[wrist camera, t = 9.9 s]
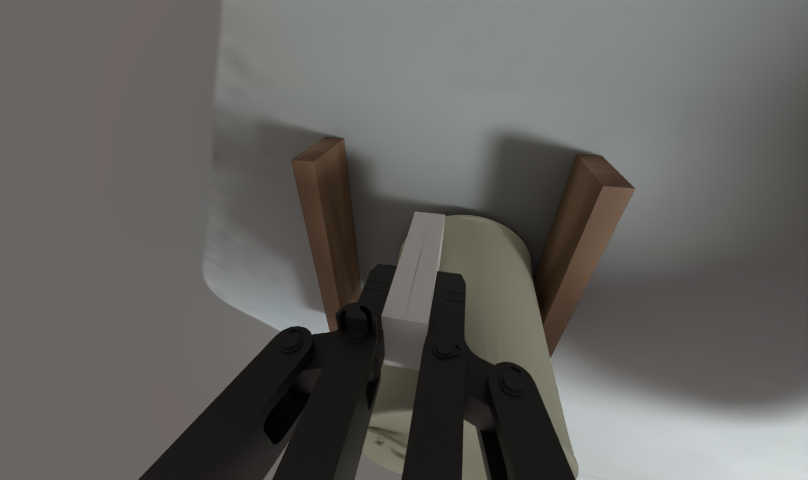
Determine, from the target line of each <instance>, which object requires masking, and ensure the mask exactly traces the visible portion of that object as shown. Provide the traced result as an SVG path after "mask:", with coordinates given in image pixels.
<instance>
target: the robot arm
mask: <svg viewBox="0 0 808 480" xmlns="http://www.w3.org/2000/svg"><path fill="white" fill-rule="evenodd" d="M444 221H445V214H435V213H425V212H415V213H414V217H413V220H412V223H411V226H410V229H409V232H408V235H407V238H406V241H405V244H404V247H403V251H402V254H401V257H400V260H399V263H398V266H391V265H383V264H378V265H377V266H376V267H375V268H374V269H373V270H371V272H370V274H369V276H368V279H367V282H366V283H365V286H364V289H363V290H362V293H361V295H360V297H359V300H358V302H353V303H350V304H346V305H345V306H343V307H342V308H340V309H339V310H338V312H337V313H336V314H335V316H336V321H337V326H338V330H335V331H332V332H328V333H320V334H311V332H310V331H309V330H308V329H306V328H305V327H300V326H296V327H290V328H287V329H285V330H283V331H281V332H280V333H279V334H278V335H276V336H275V337H274V338H273V339H272V340H271V341H270V342H269V343H268V345H267V346H266V347H265V348H264V349H263V350H262V351H261V352H260V353H259V354H258V355H257V356H256V357H255V358H254V359H253V360H252V361H251V362H250V363H249V364H248V366H247V367H246V368H245V369H244V370H243V371H242V372H241V373H240V374H239V375H238V376H237V377H236V378H235V379H234V380H233V381H232V382H231V383H230V384H229V385H228V386H227V388H225V390H224V391H223V392H222V393H221V394H220V395H219V396H218V397H217V398H216V399H215V400H214V401H213V402H212V403H211V404H210V405H209V406H208V407H207V408H206V409H205V411H204V412H203V413H202V414H201V415H200V416H199V417H198V418H197V419H196V420H195V421H194V422H193V423H192V424H191V425H190V426H189V427H188V428H187V429H186V430H185V431H184V433H182V435H181V436H180V437H179V438H178V439H177V440H176V441H175V442H174V443H173V444H172V445H171V446H170V447H169V448H168V449H167V450H166V451H165V452H164V453H163V454H162V455H161V457H160V458H159V459H158V460H157V461H156V462H155V463H154V464H153V465H152V466H151V467H150V468H149V469H148V470H147V471H146V472H145V473H144V474H143V475H142V476H141V477H140V479H139V480H263V479H264V478H265V476H266V475H267V473H268V472H269V470H270V469H271V467H272V466H273V464H274V463H275V461H276V460H277V458H278V457H279V455H280V454H281V453H282V451H283V450H284V448H285V447H286V445H287V444H288V442H289V444H288V446H287V448H286V450H285V453H284V455H283V457H282V459H281V461H280V464H279V466H278V468H277V470H276V473H275V475H274V477H273V480H355V476H356V472H357V468H358V464H359V460H360V456H361V453H362V449H363V445H364V442H365V438H366V434H367V430H368V427H369V423H370V419H371V415H372V411H373V408H374V404H375V400H376V396H377V392H378V389H379V385H380V381H381V367H382V364H383V360H384V365H390V366H395V367H400V368H406V369H411V370H416V371H419V375H418V382H417V388H416V394H415V400H414V406H413V412H412V418H411V425H410V431H409V437H408V443H407V449H406V455H405V461H404V468H403V474H402V480H462V462H463V427H464V420H465V421H467V422H469V423H470V424H472V425H474V426H475V427H476V431H477V435H478V440H479V444H480V449H481V453H482V458H483V462H484V467H485V472H486V476H487V480H575V477H574V475H573V472H572V470H571V468H570V465H569V463H568V460H567V458H566V456H565V453H564V451H563V448H562V446H561V444H560V441H559V439H558V436H557V434H556V431H555V429H554V427H553V424H552V422H551V419H550V417H549V415H548V412H547V410H546V407H545V405H544V403H543V400H542V398H541V395H540V393H539V391H538V388H537V386H536V383H535V381H534V380H533V378H532V376H531V375H530V373H528V372H527V371H526V370H525V369H524V368H523V367H521V366H519V365H517V364H515V363H512V362H500V363H497V364H495V365H494V364H492V363H490V362H488V361H486V360H483V359H482V358H480V357H478V356H477V355H475V354H474V353H473V352H472V351H471V350H470V348H469V347H468V346H467V343H466V341H465V335H464V332H465V301H466V282H465V280H464V279H463V277H462V275H461V274H457V273H449V272H442V271H439V267H440V260H441V251H442V241H443V231H444Z"/></svg>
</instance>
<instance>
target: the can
mask: <svg viewBox="0 0 808 480" xmlns="http://www.w3.org/2000/svg"><path fill="white" fill-rule="evenodd" d="M405 241H406V239H405ZM405 241H404V242H403V244H402V246H401V248H400V251H399V255H398V263H399V260H400V257H401V254H402V251H403V247H404V244H405ZM439 271H442V272H449V273H457V274H461V275H462V277H463V279H464V280H465V282H466V301H465V332H464V335H465V341H466V343H467V346H468V347H469V348H470V350H471V351H472V352H473V353H474V354H475V355H477V356H478V357H480V358H482V359H483V360H486V361H488V362H490V363H492V364H494V365H495V364H497V363H500V362H512V363H515V364H517V365H519V366H521V367H523V368H524V369H525V370H526V371H527V372H528V373H530V375H531V376H532V378H533V380H534V381H535V383H536V386H537V388H538V391H539V393H540V395H541V398H542V400H543V403H544V405H545V407H546V410H547V412H548V415H549V417H550V419H551V422H552V424H553V427H554V429H555V431H556V434H557V436H558V439H559V441H560V444H561V446H562V448H563V451H564V453H565V456H566V458H567V460H568V463H569V465H570V468H571V470H572V472H573V475H574V477H575V480H576V478H577V476H578V464H577V461H576V458H575V456H574V453H573V450H572V446H571V443H570V440H569V436H568V432H567V428H566V423H565V419H564V415H563V411H562V407H561V403H560V398H559V394H558V390H557V386H556V382H555V377H554V373H553V369H552V365H551V361H550V356H549V352H548V347H547V343H546V338H545V334H544V329H543V325H542V320H541V316H540V311H539V307H538V302H537V298H536V293H535V288H534V283H533V278H532V262H531V257H530V253H529V251H528V249H527V247H526V245H525V244H524V242H523V241H522V240H521V238H520V237H519V236H518V235H517V234H516V233H514V232H513V231H512V230H510V229H509V228H508V227H506V226H504V225H502V224H500V223H498V222H496V221H494V220H491V219H487V218H484V217H479V216H474V215H450V216H445V221H444V231H443V241H442V251H441V260H440V267H439ZM418 375H419V371H416V370H411V369H406V368H400V367H395V366H390V365H384V360H383V364H382V367H381V381H380V385H379V389H378V392H377V396H376V400H375V404H374V408H373V411H372V415H371V419H370V423H369V427H368V430H367V434H366V438H365V442H364V445H363V449H362V453H363V454H364V455H365V456H367V457H368V458H370V459H371V460H373V461H374V462H376V463H378V464H380V465H382V466H384V467H386V468H388V469H390V470H392V471H394V472H397V473H399V474H403V468H404V461H405V455H406V449H407V443H408V437H409V431H410V425H411V418H412V412H413V406H414V400H415V394H416V388H417V382H418ZM462 480H487V476H486V472H485V467H484V462H483V458H482V453H481V449H480V444H479V440H478V435H477V431H476V427H475V426H474V425H472V424H470V423H469V422H467V421H465V420H464V427H463V462H462Z"/></svg>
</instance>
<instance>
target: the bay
mask: <svg viewBox="0 0 808 480" xmlns="http://www.w3.org/2000/svg"><path fill="white" fill-rule="evenodd" d="M291 161H292V166H293V170H294V175H295V179H296V184H297V188H298V192H299V197H300V201H301V206H302V210H303V215H304V219H305V224H306V228H307V232H308V237H309V241H310V246H311V250H312V255H313V259H314V264H315V268H316V272H317V277H318V281H319V286H320V290H321V295H322V299H323V304H324V308H325V312H326V317H327V321H328V326H329V330H330V332H332V331H335V330H338V326H337V321H336V316H335V314H336V313H337V312H338V310H339V309H340V308H342V307H343V306H345V305H346V304H350V303H353V302H358V300H359V297H360V295H361V285H360V276H359V268H358V259H357V250H356V241H355V232H354V223H353V215H352V206H351V197H350V188H349V179H348V170H347V162H346V153H345V144H344V139H341V138H327V137H325V138H324V139H322V140H321V141H319V142H318V143H316V144H315V145H313V146H312V147H310V148H309V149H307V150H305V151H304V152H302V153H301V154H299V155H298V156H296V157H295V158H293V159H292V160H291ZM634 190H635V188H634V187H633V186H632V185H631V184H630V183H629V182H628V181H627V180H626V179H625V178H624V177H623V176H622V175H621V174H620V173H619V172H618V171H617V170H616V169H615V168H614V167H613V166H612V165H611V164H610V163H609V162H608V161H607V160H606V159H605V158H603V157H602V156H592V155H578V154H577V156H576V159H575V162H574V165H573V168H572V171H571V174H570V176H569V179H568V182H567V185H566V188H565V191H564V194H563V196H562V199H561V202H560V205H559V208H558V211H557V214H556V216H555V219H554V222H553V225H552V228H551V231H550V233H549V236H548V239H547V242H546V245H545V248H544V251H543V253H542V256H541V259H540V262H539V265H538V268H537V271H536V273H535V276H534V279H533V283H534V288H535V293H536V298H537V302H538V307H539V311H540V316H541V320H542V325H543V329H544V334H545V338H546V343H547V347H548V352H549V356H550V357H551V355H552V353H553V352H554V350H555V348H556V346H557V344H558V342H559V340H560V338H561V336H562V334H563V332H564V330H565V328H566V326H567V324H568V322H569V320H570V318H571V316H572V314H573V312H574V310H575V308H576V306H577V304H578V302H579V300H580V298H581V296H582V294H583V292H584V290H585V288H586V286H587V284H588V282H589V280H590V278H591V276H592V274H593V272H594V270H595V268H596V266H597V264H598V262H599V260H600V258H601V256H602V254H603V252H604V250H605V248H606V246H607V244H608V242H609V240H610V238H611V236H612V234H613V232H614V230H615V228H616V226H617V224H618V222H619V220H620V218H621V216H622V214H623V212H624V210H625V208H626V206H627V204H628V202H629V200H630V198H631V196H632V194H633V192H634Z"/></svg>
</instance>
